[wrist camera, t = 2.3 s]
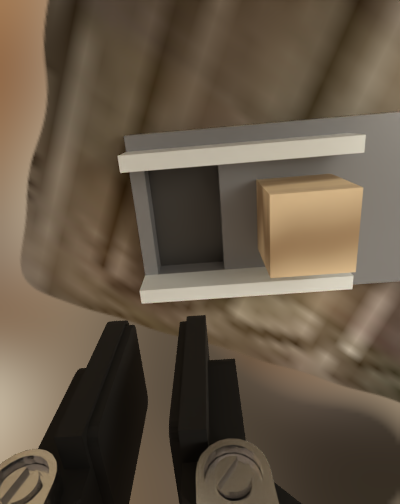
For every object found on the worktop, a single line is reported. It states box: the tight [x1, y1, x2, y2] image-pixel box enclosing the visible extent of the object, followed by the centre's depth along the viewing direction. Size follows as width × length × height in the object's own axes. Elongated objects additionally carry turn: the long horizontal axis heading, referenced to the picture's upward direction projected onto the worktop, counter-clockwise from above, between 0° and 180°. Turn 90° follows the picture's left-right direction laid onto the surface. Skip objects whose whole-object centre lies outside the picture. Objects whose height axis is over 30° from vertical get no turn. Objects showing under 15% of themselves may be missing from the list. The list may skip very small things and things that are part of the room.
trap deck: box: [118, 111, 400, 304], centre depth 24 cm, size 12×25×4 cm, turn 95°
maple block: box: [256, 174, 363, 278], centre depth 22 cm, size 5×5×5 cm
